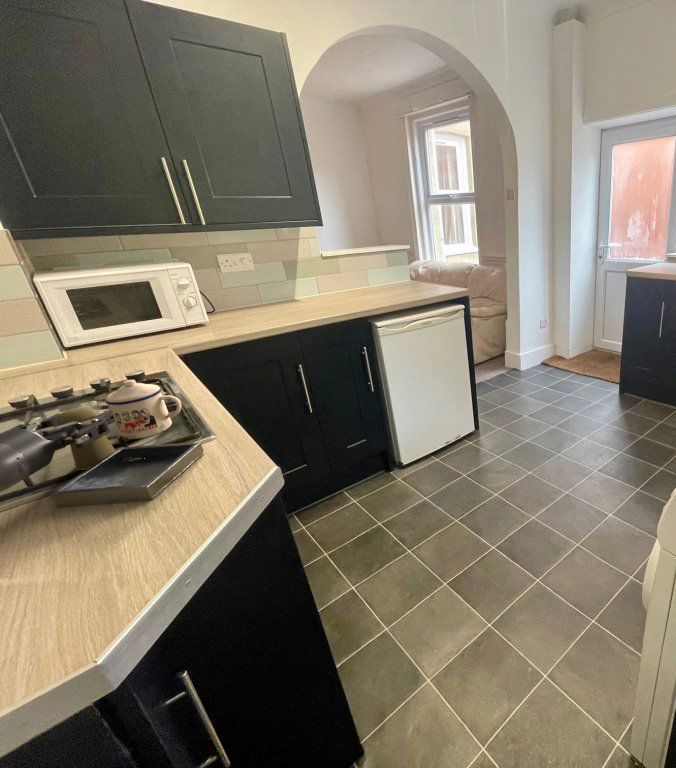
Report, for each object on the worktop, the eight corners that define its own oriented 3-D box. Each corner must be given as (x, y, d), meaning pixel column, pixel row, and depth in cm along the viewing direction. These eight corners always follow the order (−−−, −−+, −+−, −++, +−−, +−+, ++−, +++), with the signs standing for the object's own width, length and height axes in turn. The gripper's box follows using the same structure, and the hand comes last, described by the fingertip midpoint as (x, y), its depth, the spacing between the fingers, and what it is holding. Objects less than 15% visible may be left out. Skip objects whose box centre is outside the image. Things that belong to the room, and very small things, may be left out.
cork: (88, 473, 76) (62, 419, 72) (68, 467, 78) (42, 414, 74) (126, 456, 82) (104, 405, 78) (107, 451, 84) (84, 401, 80)
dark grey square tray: (56, 507, 67) (49, 494, 66) (125, 458, 81) (120, 447, 80) (152, 500, 68) (147, 486, 67) (204, 453, 82) (200, 441, 81)
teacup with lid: (112, 443, 87) (89, 392, 82) (132, 425, 94) (112, 376, 90) (180, 433, 90) (162, 383, 86) (194, 415, 98) (178, 369, 94)
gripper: (37, 438, 63) (120, 395, 78) (-67, 445, 62) (38, 400, 77) (59, 480, 66) (135, 431, 81) (-41, 487, 65) (55, 436, 80)
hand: (87, 416), depth 79 cm, fingers open, 8 cm apart
